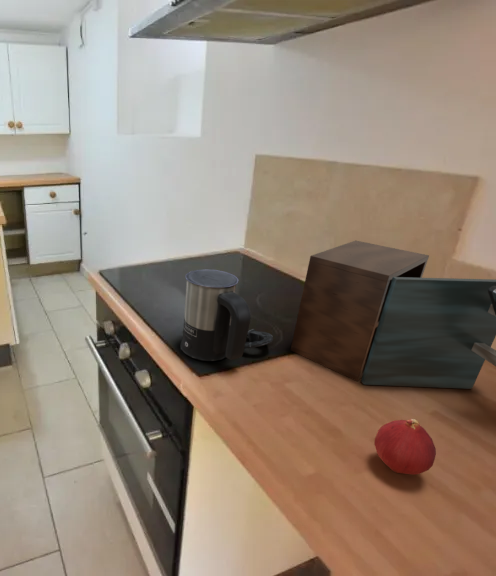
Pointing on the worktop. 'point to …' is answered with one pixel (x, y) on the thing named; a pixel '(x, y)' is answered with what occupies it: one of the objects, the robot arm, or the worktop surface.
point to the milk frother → (217, 318)
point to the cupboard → (348, 302)
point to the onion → (405, 447)
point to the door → (433, 333)
